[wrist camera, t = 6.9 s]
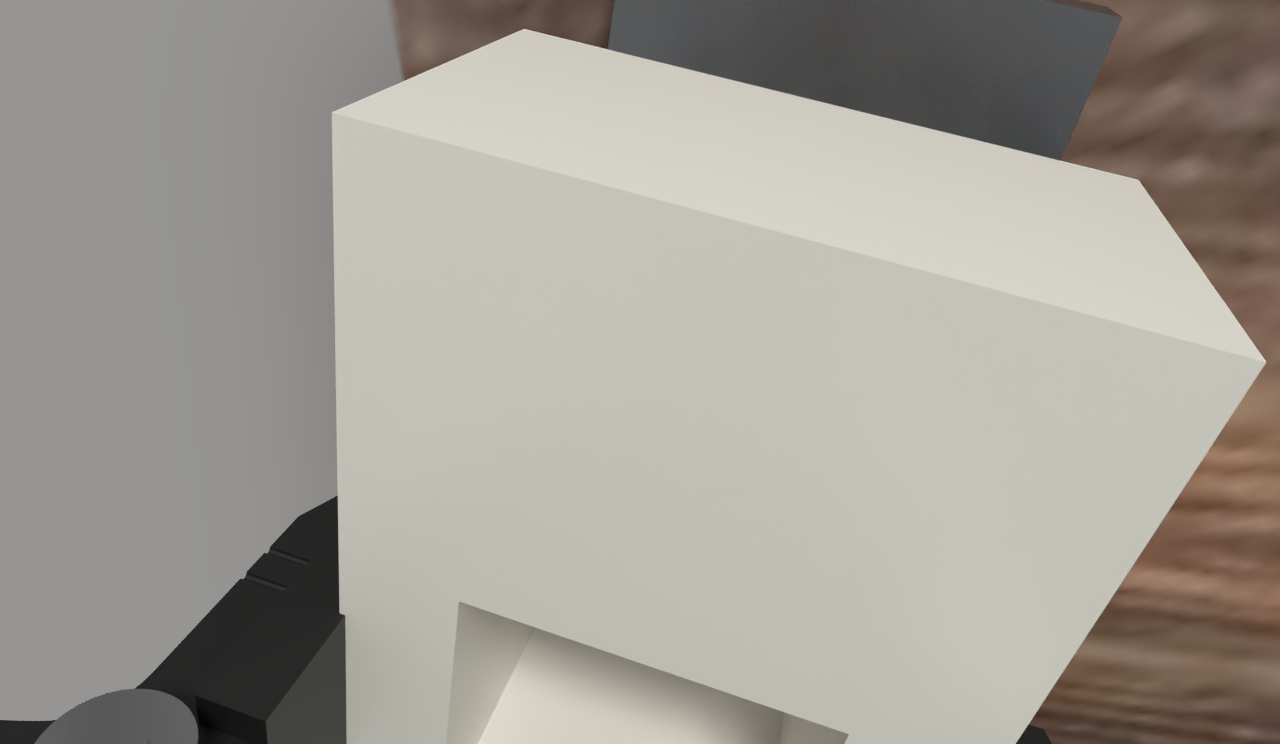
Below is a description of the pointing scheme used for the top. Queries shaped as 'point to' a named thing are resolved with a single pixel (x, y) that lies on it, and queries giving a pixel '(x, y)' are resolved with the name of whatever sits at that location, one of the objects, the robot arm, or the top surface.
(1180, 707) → the top surface
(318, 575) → the robot arm
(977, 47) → the base plate
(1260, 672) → the top surface
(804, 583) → the white block with recesses
